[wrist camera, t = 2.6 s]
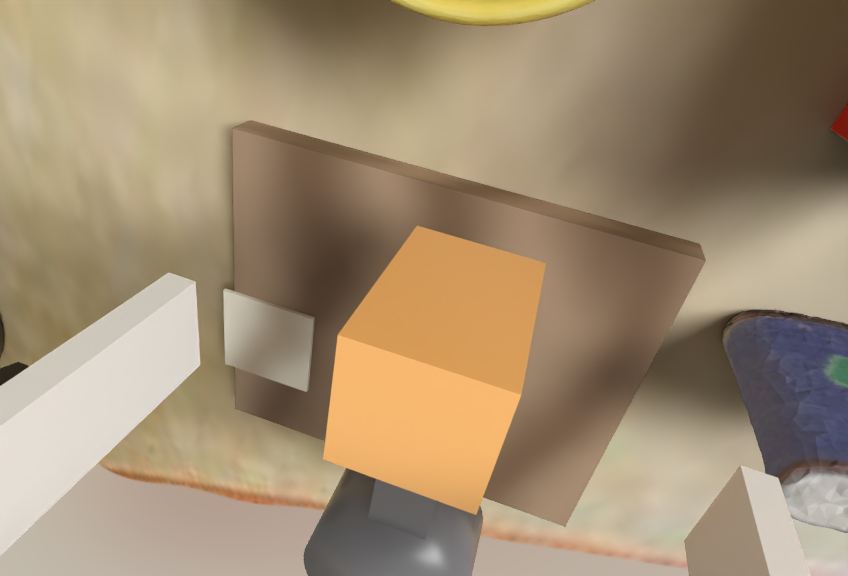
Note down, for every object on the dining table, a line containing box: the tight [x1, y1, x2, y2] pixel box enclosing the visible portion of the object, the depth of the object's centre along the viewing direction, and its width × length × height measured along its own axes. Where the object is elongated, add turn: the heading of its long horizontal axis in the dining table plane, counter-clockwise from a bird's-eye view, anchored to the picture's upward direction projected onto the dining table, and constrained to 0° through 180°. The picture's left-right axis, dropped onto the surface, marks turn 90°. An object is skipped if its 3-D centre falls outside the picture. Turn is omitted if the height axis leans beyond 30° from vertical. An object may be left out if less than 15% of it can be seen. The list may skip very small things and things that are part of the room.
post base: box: [223, 121, 706, 526], centre depth 25 cm, size 20×17×8 cm
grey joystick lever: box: [304, 226, 546, 576], centre depth 18 cm, size 15×6×6 cm, turn 170°
